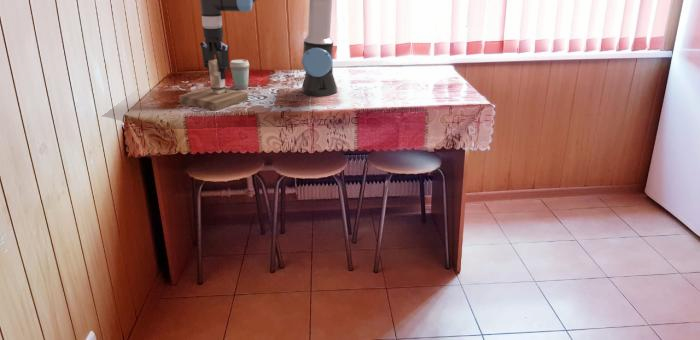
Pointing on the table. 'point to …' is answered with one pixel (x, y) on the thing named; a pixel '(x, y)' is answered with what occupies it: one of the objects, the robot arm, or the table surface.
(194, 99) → the board
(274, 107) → the table surface
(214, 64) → the peg
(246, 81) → the coffee cup
